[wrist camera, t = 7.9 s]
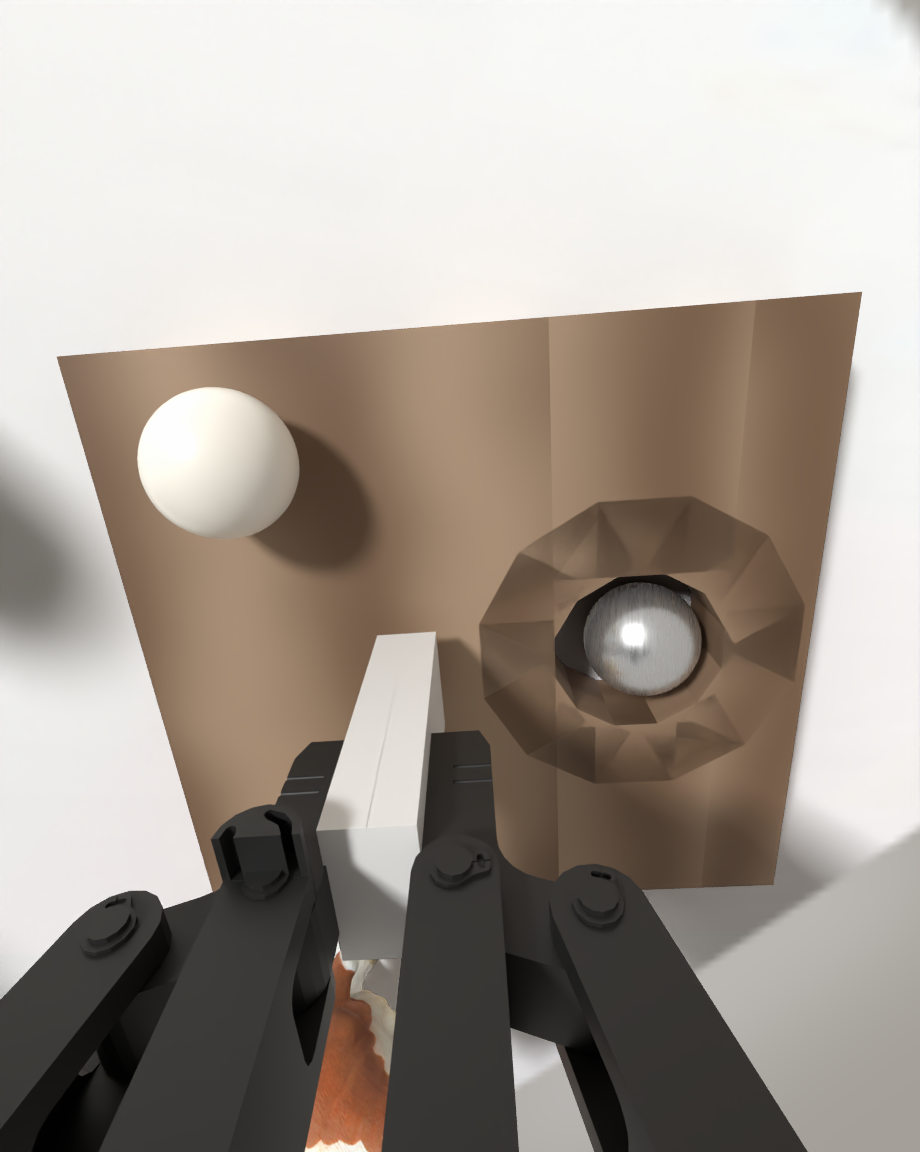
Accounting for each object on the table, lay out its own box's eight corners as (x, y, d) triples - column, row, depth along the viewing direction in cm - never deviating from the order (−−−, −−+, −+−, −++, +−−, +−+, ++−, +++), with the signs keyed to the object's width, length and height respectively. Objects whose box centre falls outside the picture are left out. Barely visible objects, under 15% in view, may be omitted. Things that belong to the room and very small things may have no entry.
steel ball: (579, 713, 16) (704, 723, 15) (579, 607, 15) (714, 611, 14) (586, 658, 19) (691, 664, 18) (586, 565, 18) (698, 567, 17)
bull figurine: (496, 952, 23) (509, 1244, 15) (197, 1016, 25) (74, 1307, 17) (463, 873, 22) (459, 1150, 14) (147, 946, 23) (-10, 1229, 16)
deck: (244, 846, 21) (216, 906, 19) (119, 358, 16) (57, 356, 13) (738, 825, 21) (773, 884, 18) (800, 303, 15) (862, 292, 12)
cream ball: (199, 522, 15) (128, 563, 12) (168, 389, 13) (81, 397, 10) (325, 514, 14) (285, 554, 11) (303, 379, 13) (255, 384, 10)
